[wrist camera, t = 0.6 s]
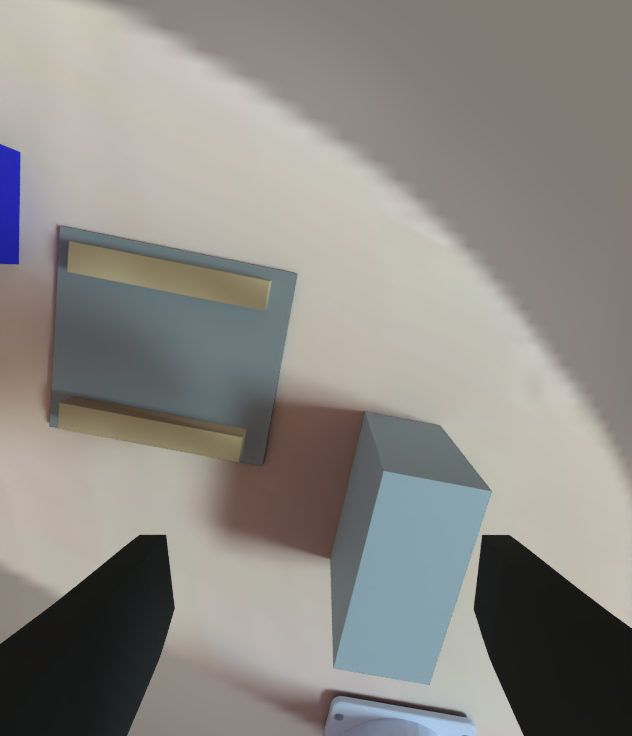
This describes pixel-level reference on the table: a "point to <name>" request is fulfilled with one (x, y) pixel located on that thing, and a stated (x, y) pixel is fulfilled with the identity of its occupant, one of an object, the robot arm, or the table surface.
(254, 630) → the table surface
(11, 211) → the cable clip
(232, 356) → the guide mat
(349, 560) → the bar
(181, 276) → the guide rails
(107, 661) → the robot arm
